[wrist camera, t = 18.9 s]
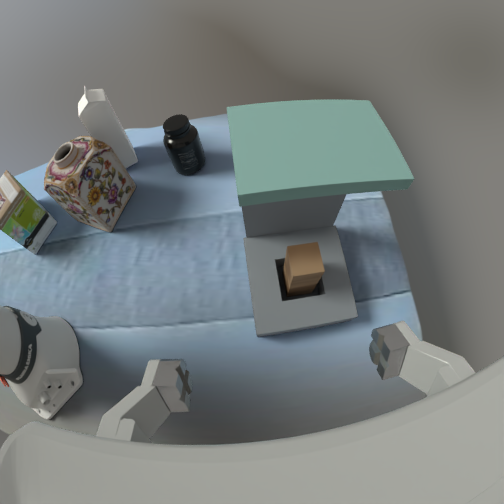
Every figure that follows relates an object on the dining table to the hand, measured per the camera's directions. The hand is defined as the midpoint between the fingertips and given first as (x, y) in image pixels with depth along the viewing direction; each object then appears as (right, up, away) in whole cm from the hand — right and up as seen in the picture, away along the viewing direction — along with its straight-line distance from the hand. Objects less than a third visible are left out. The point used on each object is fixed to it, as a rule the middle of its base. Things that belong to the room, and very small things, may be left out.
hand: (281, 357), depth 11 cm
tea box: (-55, +11, +42) cm, 70 cm away
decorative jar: (-33, +15, +42) cm, 55 cm away
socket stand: (+6, -1, +33) cm, 34 cm away
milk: (-31, +26, +46) cm, 61 cm away
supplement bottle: (-14, +23, +44) cm, 52 cm away
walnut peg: (+6, -1, +33) cm, 34 cm away
